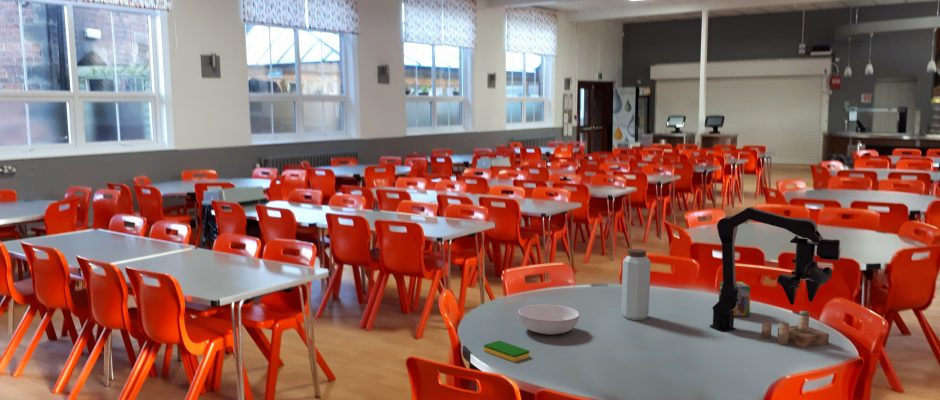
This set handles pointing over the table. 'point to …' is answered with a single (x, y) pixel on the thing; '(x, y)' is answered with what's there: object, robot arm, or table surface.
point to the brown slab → (807, 337)
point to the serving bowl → (548, 318)
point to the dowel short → (766, 330)
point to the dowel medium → (783, 333)
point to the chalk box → (744, 303)
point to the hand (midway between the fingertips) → (801, 303)
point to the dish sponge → (506, 351)
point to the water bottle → (635, 285)
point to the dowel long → (803, 321)
